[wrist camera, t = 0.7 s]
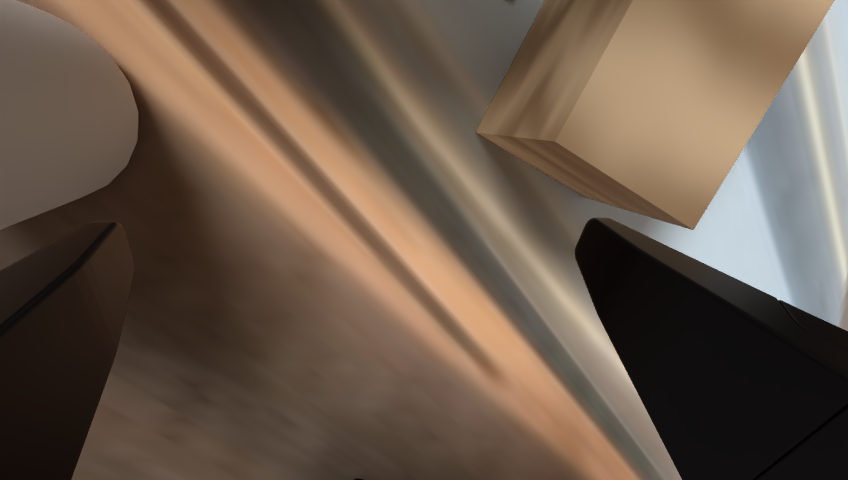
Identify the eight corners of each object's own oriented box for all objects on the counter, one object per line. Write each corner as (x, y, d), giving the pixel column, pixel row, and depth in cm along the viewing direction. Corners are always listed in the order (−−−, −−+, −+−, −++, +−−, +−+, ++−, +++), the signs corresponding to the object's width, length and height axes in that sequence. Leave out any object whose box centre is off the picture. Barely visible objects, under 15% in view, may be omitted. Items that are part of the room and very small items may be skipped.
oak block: (582, 196, 26) (693, 230, 19) (474, 132, 23) (554, 141, 16) (709, -27, 24) (888, -88, 17) (609, -127, 22) (771, -251, 14)
